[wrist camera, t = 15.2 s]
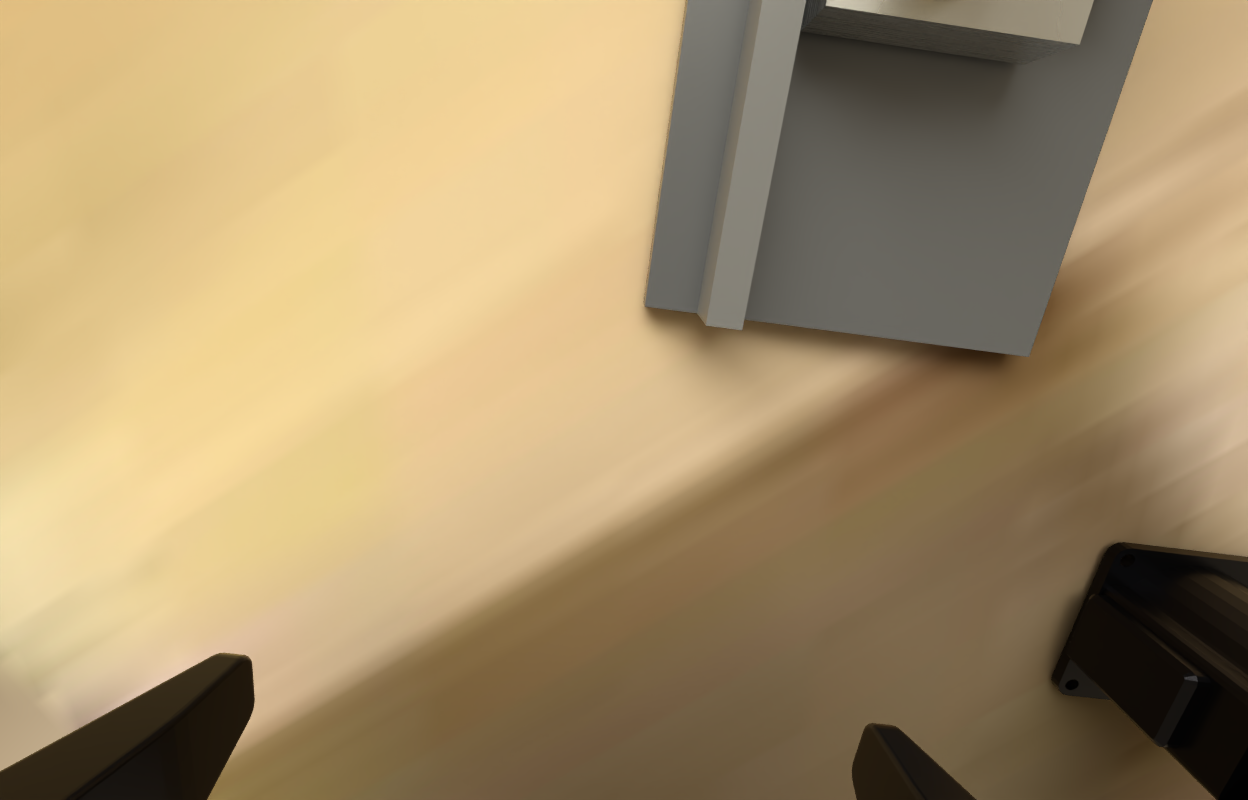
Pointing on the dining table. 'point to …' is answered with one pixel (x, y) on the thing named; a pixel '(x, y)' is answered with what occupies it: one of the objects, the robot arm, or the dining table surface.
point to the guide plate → (876, 177)
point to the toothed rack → (957, 25)
